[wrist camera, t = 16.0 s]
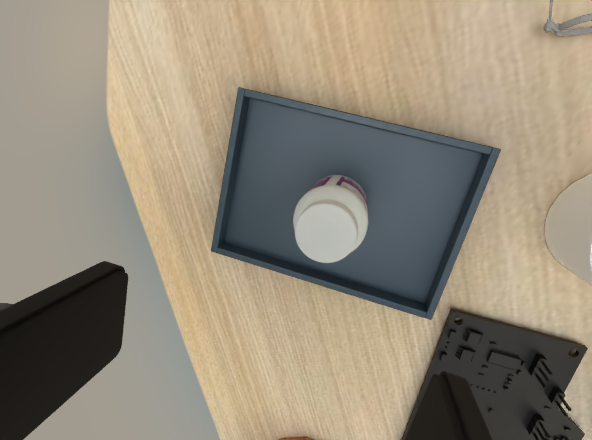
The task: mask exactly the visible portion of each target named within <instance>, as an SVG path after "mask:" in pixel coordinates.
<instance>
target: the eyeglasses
mask: <svg viewBox="0 0 592 440" xmlns="http://www.w3.org/2000/svg"><path fill="white" fill-rule="evenodd" d="M552 2H553V0H550V10H549V19H547V23H546V24H545V25H544V30H545V32H551V31H552V30H553V31H554V34H555V35H556V36H571V35H581V34H590V33H592V27H587V28H579V29H565V28H568V27H571V26H573V25H577V24H580V23H584V22H588V21H592V14H587V15H583V16H580V17H577V18H574V19H571V20H568V21H566V22H563V23H562V24H554V22H553V20H552V18H551V16H552Z"/></svg>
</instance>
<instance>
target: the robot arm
mask: <svg viewBox="0 0 592 440" xmlns="http://www.w3.org/2000/svg"><path fill="white" fill-rule="evenodd" d="M127 284H128V275H127V273H125V270H124V268H123V267H122V266H119V265H116V264H112V263H109V262H106V261H104V262H101V263H99V264H96V265H94V266H92V267H90V268H88V269H86V270H84V271H82V272H80V273H78V274H76V275H73V276H72V277H69V278H67V279H65V280H63V281H61V282H59V283H57V284H55V285H53V286H51V287H48V288H46V289H44V290H42V291H40V292H38V293H36V294H34V295H32V296H30V297H28V298H26V299H24V300H21V301H20V302H17V303H15V304H13V305H11V306H9V307H7V308H5V309H3V310H1V311H0V440H23V439H24V438H25V437H26V436H28V435H29V434H30V433H31V432H32V431H33V430H34V429H35V428H37V427H38V426H39V425H40V424H41V423H42V422H43V421H44V420H45V419H47V418H48V417H49V416H50V415H51V414H52V413H53V412H55V411H56V410H57V409H58V408H59V407H60V406H61V405H62V404H63V403H65V402H66V401H67V400H68V399H69V398H70V397H71V396H73V395H74V394H75V393H76V392H77V391H78V390H79V389H80V388H81V387H83V386H84V385H85V384H86V383H87V382H88V381H89V380H90V379H92V377H94V376H95V375H96V374H97V373H98V372H99V371H101V370H102V369H103V368H104V367H105V366H106V365H107V364H108V363H110V362H111V361H112V360H113V359H114V358H115V357H116V356H117V354H118V353H119V351H120V349H121V345H122V336H123V325H124V316H125V305H126V294H127ZM405 440H492V437H491V435H490V433H489V430H488V428H487V426H486V423H485V421H484V419H483V416H482V414H481V411H480V409H479V407H478V404H477V402H476V400H475V397H474V395H473V393H472V390H471V388H470V386H469V383H468V381H467V379H466V378H464V377H461V376H458V375H455V374H452V373H449V372H446V371H442V372H441V373H440V374H439V375H437V374H434V375H433V376H432V378H431V380H430V382H429V384H428V387H427V389H426V392H425V394H424V396H423V399H422V401H421V403H420V406H419V408H418V410H417V413H416V415H415V417H414V420H413V422H412V424H411V427H410V429H409V431H408V434H407V436H406V438H405Z"/></svg>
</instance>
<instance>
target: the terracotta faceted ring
mask: <svg viewBox="0 0 592 440" xmlns="http://www.w3.org/2000/svg"><path fill="white" fill-rule="evenodd" d="M280 440H312V439H310V438H307V437H300V438H283V439H280Z"/></svg>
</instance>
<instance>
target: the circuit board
mask: <svg viewBox="0 0 592 440" xmlns="http://www.w3.org/2000/svg"><path fill="white" fill-rule="evenodd" d="M458 317H459V318H462V321H461V322H459V323H456V322H454V319H455V318H458ZM572 349H576V352H575V353H574V354H569V351H570V350H572ZM587 349H588V348H587V347H586V346H585V345H581V344H577V343H574V342H570V341H566V340H563V339H559V338H555V337H552V336H548V335H544V334H541V333H537V332H533V331H530V330H526V329H522V328H519V327H515V326H511V325H508V324H504V323H500V322H497V321H493V320H489V319H486V318H482V317H478V316H475V315H471V314H467V313H464V312H460V311H456V310H452V309H451V311H450V314H449V317H448V319H447V322H446V325H445V327H444V330H443V333H442V335H441V338H440V341H439V343H438V346H437V349H436V351H435V354H434V357H433V359H432V362H431V364H430V367H429V370H428V372H427V375H426V378H425V380H424V383H423V386H422V388H421V391H420V394H419V396H418V399H417V402H416V404H415V407H414V410H413V412H412V415H411V418H410V420H409V423H408V425H407V428H406V431H405V433H404V436H403V439H402V440H405V438H406V436H407V434H408V431H409V429H410V427H411V424H412V422H413V420H414V417H415V415H416V413H417V410H418V408H419V406H420V403H421V401H422V399H423V396H424V394H425V392H426V389H427V387H428V384H429V382H430V380H431V378H432V376H433V375H434V374H437V375H439V374H440V373H441V372H442V371H446V372H449V373H452V374H455V375H458V376H461V377H464V378H466V379H467V381H468V383H469V386H470V388H471V390H472V393H473V395H474V397H475V400H476V402H477V404H478V407H479V409H480V411H481V414H482V416H483V419H484V421H485V423H486V426H487V428H488V430H489V433H490V435H491V437H492V440H582V438H583V436H584V435H585V434H584V433H583V431H582V430H581V429H580V428H579V427H577V426H576V425H575V424H574V423H573V422H572V421H571V420H570V419H569V418H568V415H567V413H566V412H565V411H564V409H563V408H562V406H561V405H560V404H561V403H562V402H563V403H564V405H565V406H566V408H567V409H568V410H569V411H571V408H570V407H569V405H568V404H567V403H566V401H565V400H564V397H565V394H564V392H565V390H566V388H567V386H568V384H569V382H570V381H571V379H572V377H573V375H574V373H575V371H576V369H577V368H578V366H579V364H580V362H581V360H582V358H583V356H584V354H585V353H586V351H587ZM557 406H558V407H559V408H560V410H561V411H562V412H561V411H560V410H559V409H558V408H557Z"/></svg>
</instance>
